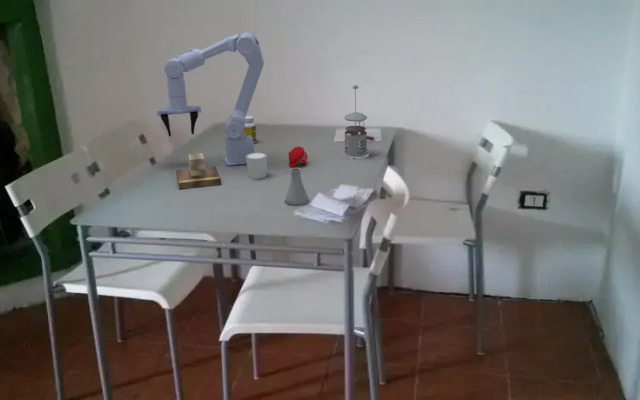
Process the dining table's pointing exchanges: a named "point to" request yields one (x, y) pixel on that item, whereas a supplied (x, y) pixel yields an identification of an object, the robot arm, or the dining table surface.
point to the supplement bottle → (250, 127)
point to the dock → (198, 178)
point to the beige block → (196, 165)
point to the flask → (296, 189)
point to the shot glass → (256, 165)
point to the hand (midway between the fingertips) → (181, 134)
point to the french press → (355, 134)
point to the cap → (297, 156)
